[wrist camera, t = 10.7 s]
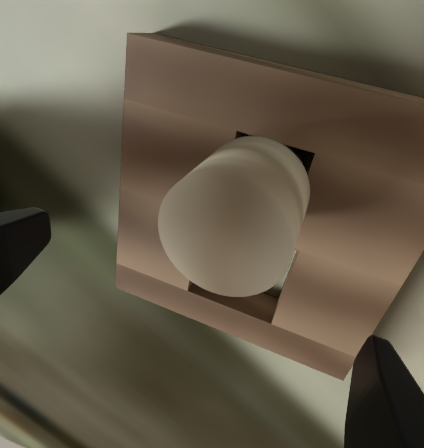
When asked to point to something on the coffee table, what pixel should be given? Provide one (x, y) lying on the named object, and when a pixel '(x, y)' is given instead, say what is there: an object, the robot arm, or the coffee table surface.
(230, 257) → the peg
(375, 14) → the coffee table surface
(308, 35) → the coffee table surface
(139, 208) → the keyhole board
